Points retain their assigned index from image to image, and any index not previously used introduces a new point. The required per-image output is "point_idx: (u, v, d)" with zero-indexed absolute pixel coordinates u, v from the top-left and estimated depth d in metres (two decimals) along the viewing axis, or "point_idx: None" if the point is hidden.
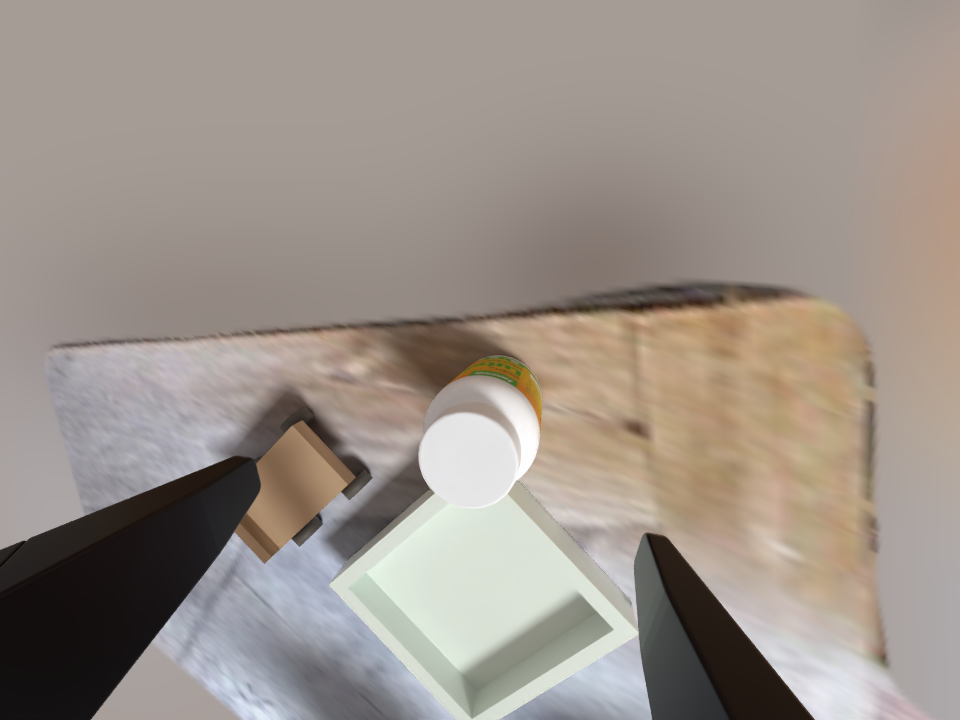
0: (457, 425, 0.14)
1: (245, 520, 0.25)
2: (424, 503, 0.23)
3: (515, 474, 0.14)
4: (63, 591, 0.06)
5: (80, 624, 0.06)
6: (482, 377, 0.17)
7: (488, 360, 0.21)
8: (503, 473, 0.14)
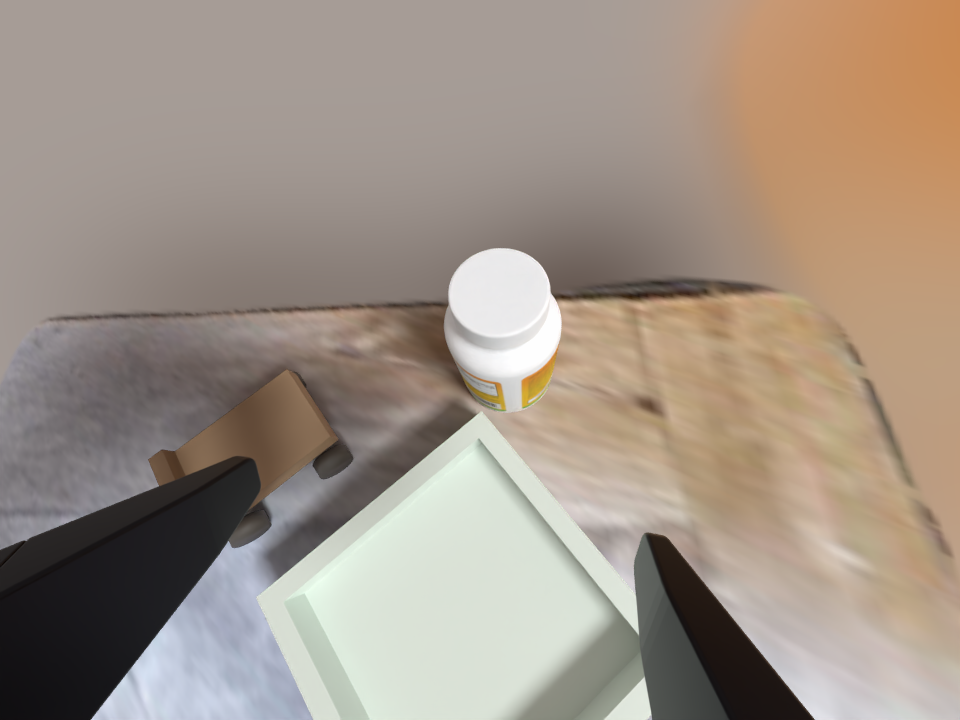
0: (492, 258, 0.15)
1: None
2: (415, 467, 0.20)
3: (547, 300, 0.14)
4: (64, 590, 0.06)
5: (80, 624, 0.06)
6: None
7: None
8: (535, 298, 0.14)
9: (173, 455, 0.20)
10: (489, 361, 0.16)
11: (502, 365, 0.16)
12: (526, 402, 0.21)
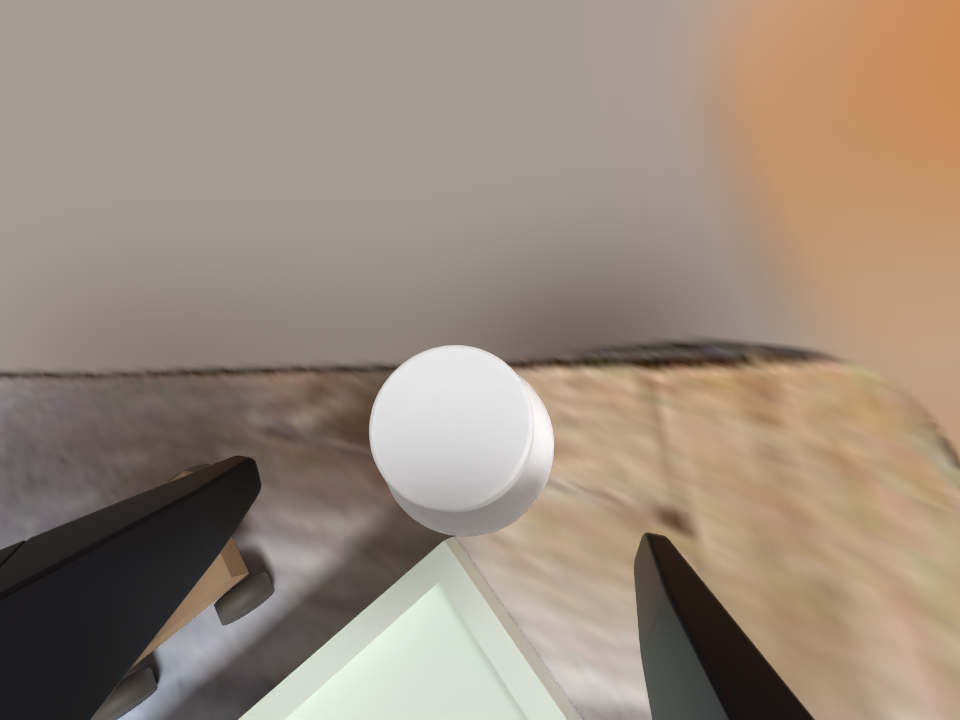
0: (442, 363, 0.10)
1: None
2: (349, 625, 0.14)
3: (528, 442, 0.09)
4: (63, 591, 0.06)
5: (80, 624, 0.06)
6: None
7: None
8: (508, 439, 0.09)
9: None
10: (441, 515, 0.10)
11: (460, 522, 0.10)
12: None
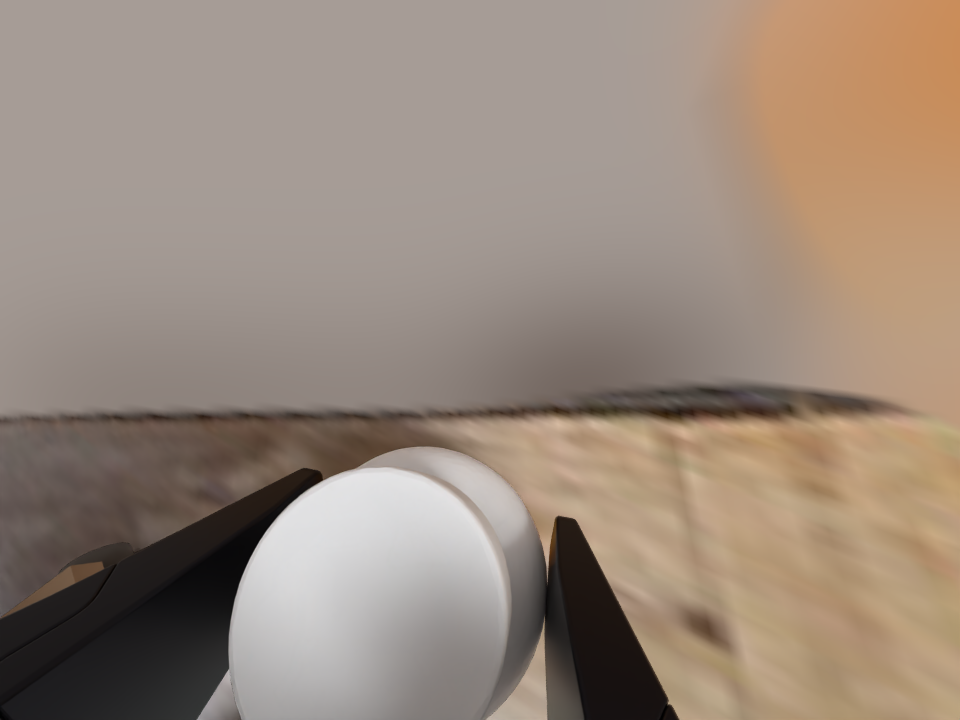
0: (360, 501, 0.06)
1: None
2: None
3: (496, 667, 0.05)
4: (159, 616, 0.06)
5: (173, 651, 0.06)
6: None
7: None
8: (462, 661, 0.05)
9: None
10: None
11: None
12: None
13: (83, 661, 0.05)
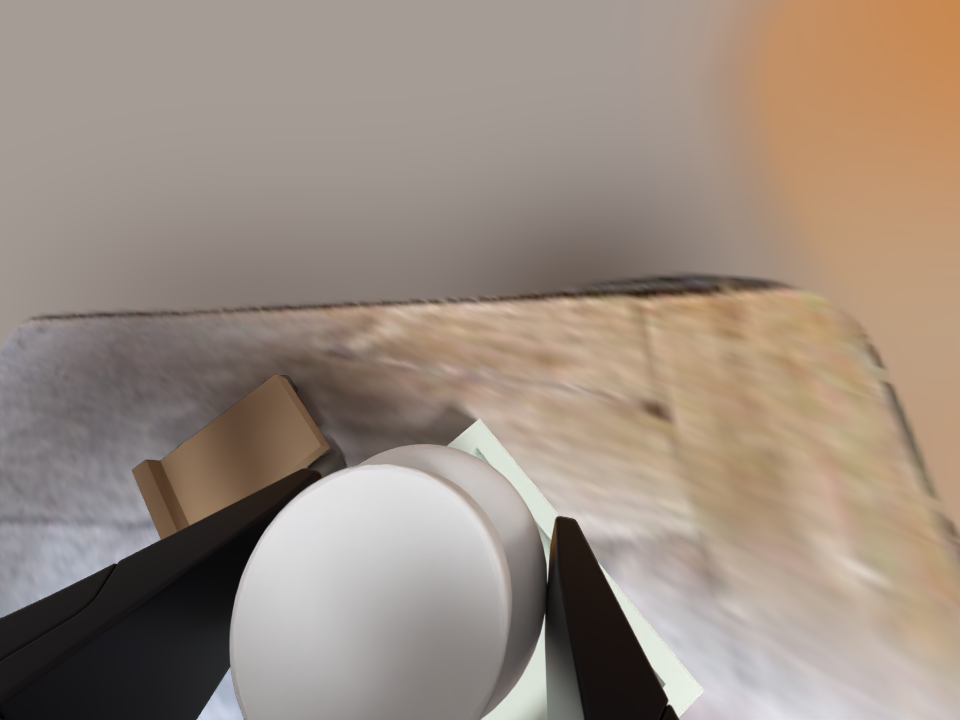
0: (360, 498, 0.06)
1: (168, 494, 0.19)
2: None
3: (497, 663, 0.05)
4: (158, 616, 0.06)
5: (173, 651, 0.06)
6: (439, 445, 0.09)
7: None
8: (462, 657, 0.05)
9: (158, 465, 0.20)
10: None
11: None
12: None
13: (83, 661, 0.05)
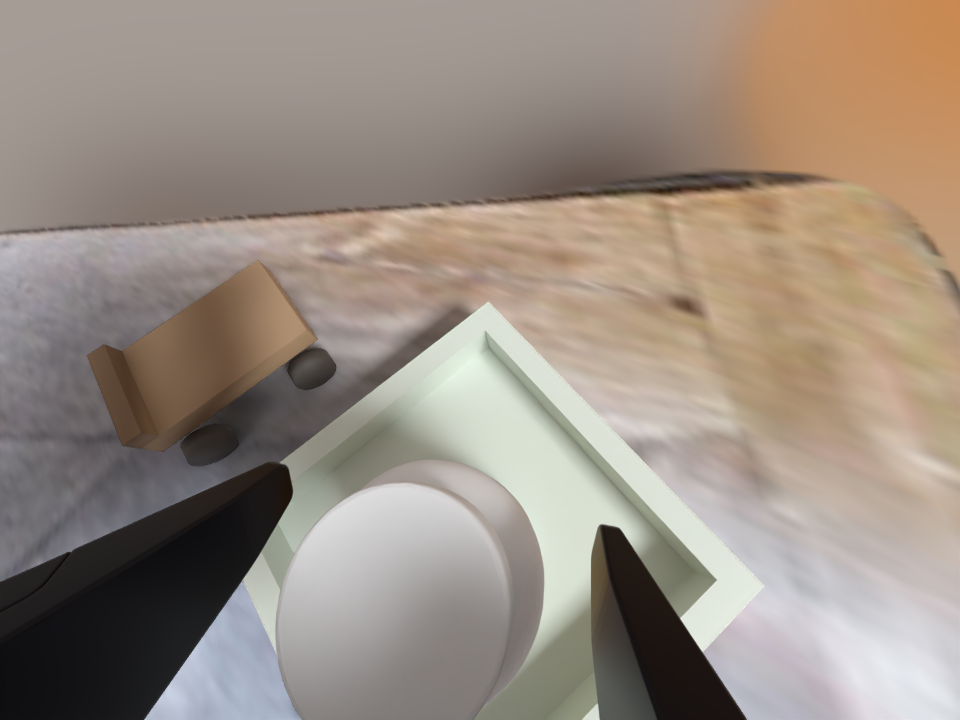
0: (384, 512, 0.07)
1: (127, 381, 0.16)
2: (409, 364, 0.16)
3: (501, 652, 0.06)
4: (111, 603, 0.06)
5: (126, 637, 0.06)
6: (447, 460, 0.10)
7: None
8: (472, 647, 0.06)
9: (119, 354, 0.17)
10: None
11: None
12: None
13: (27, 644, 0.05)
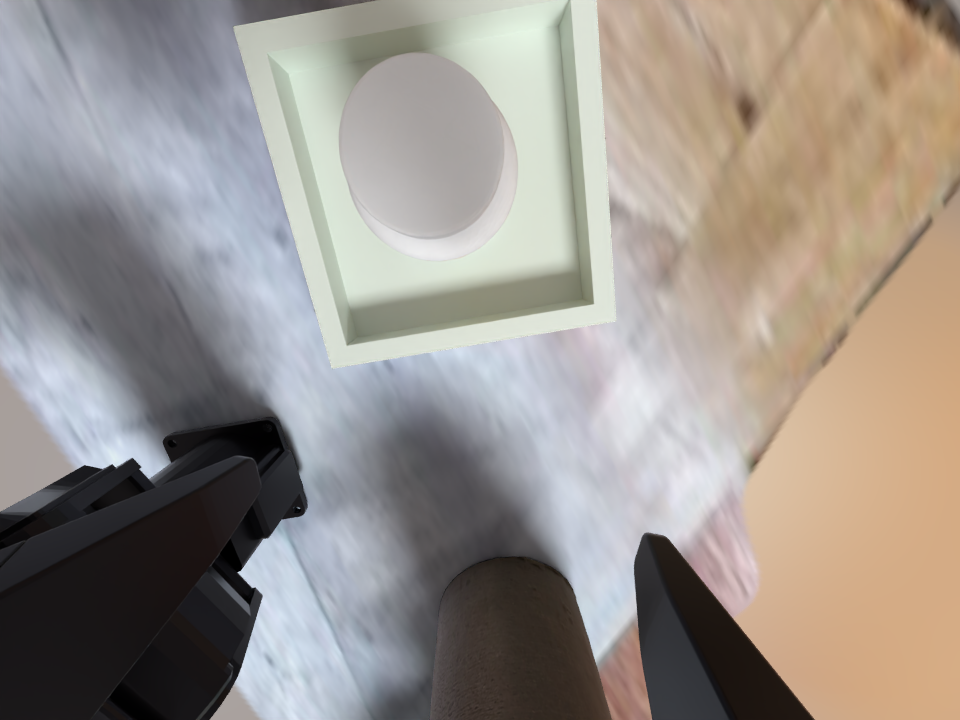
0: (442, 82, 0.09)
1: None
2: None
3: (477, 211, 0.09)
4: (64, 590, 0.06)
5: (80, 624, 0.06)
6: None
7: None
8: (462, 199, 0.09)
9: None
10: (382, 224, 0.12)
11: (396, 238, 0.12)
12: None
13: None
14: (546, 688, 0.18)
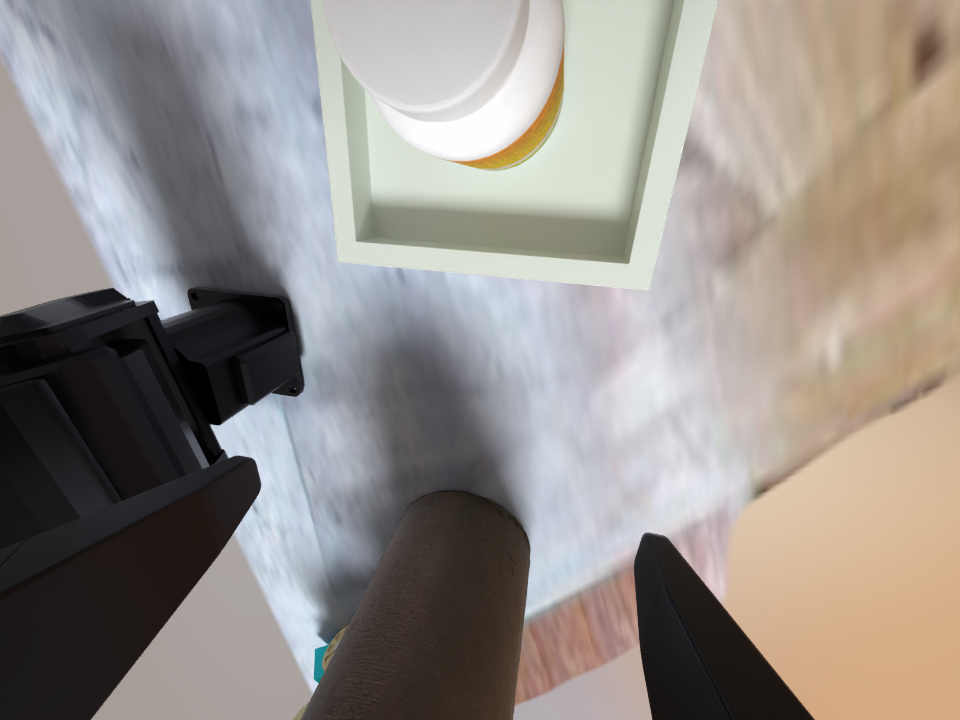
0: None
1: None
2: None
3: (470, 88, 0.08)
4: (64, 590, 0.06)
5: (80, 624, 0.06)
6: None
7: None
8: (455, 68, 0.07)
9: None
10: None
11: (395, 117, 0.10)
12: None
13: None
14: (461, 618, 0.18)
